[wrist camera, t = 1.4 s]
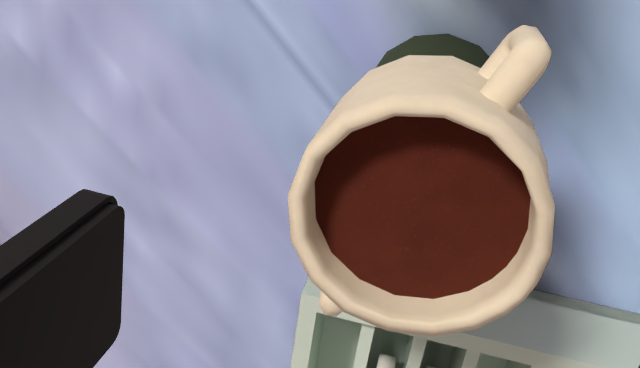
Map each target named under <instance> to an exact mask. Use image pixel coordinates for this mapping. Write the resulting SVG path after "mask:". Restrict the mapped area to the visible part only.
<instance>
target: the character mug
mask: <svg viewBox="0 0 640 368" xmlns="http://www.w3.org/2000/svg"><path fill="white" fill-rule="evenodd" d="M551 53H552V51H551V49H550V47H549V45H548V44H547V42H546V40H545V39H544V37H543V36H542V34H541V33H540V32H539V30H538V29H537V28H536V27H532V26H526V25H522V26H519V27H518V28H516V29H515V30H513V31H512V32H510V33H508V35H507V36H506V37H505V38H504V39H503V40H502V42H501V43H500V44H499V46H498V47H497V48H496V49H495V51H494V52H493V53H492V55H491V56H490V57H489V56H488V55H487V54H486V53H485V52H484V50H483V49H482V48H481V47H480V46H478V45H475V44H473V43H470V42H468V41H465V40H463V39H460V38H458V37H455V36H453V35H450V34H438V35H423V36H414V37H412V38H411V39H409V40H407V41H405V42H404V43H402V44H400V45H398V46H396V47H395V48H393V49H391V50H389V51H388V52H386V54H385V55H384V57H383V58H382V60H381V61H380V63H379V64H378V66H377V67H376V68H375V69H372V70H370V71H369V72H368V73H367V74H366V75H365V76H364V77H363V78H362V79H360V80H359V81H358V82H357V83H356V84H355V85H354V86H353V87H352V88H351V89H350V90H349V91H348V92H347V93H346V94H345V95H344V96H343V97H342V98H341V99H340V101H339V102H338V104H337V105H336V107H335V108H334V109H333V111H332V112H331V114H330V115H329V116H328V118H327V119H326V121H325V122H324V124H323V125H322V126H321V128H320V129H319V131H318V132H317V133H316V135H315V136H314V138H313V139H312V141H311V142H310V143H309V145H308V147H307V148H306V150H305V152H304V155H303V157H302V160H301V163H300V165H299V168H298V170H297V173H296V176H295V178H294V181H293V183H292V186H291V189H290V191H289V194H288V205H289V221H290V237H291V242H292V244H293V246H294V248H295V250H296V252H297V254H298V256H299V258H300V260H301V262H302V264H303V266H304V268H305V270H306V272H307V275H308V277H309V279H310V281H311V282H313V283H314V284H315V285H316V286H317V287H318V288H319V289H320V290H321V293H320V298H319V306H320V308H321V310H322V311H323V313H324V315H328V316H338V315H339V314H340V313H341V312H345V313H347V314H349V315H352V316H354V317H356V318H358V319H361V320H363V321H365V322H368V323H370V324H372V325H375V326H377V327H379V328H382V329H384V330H386V331H392V332H400V333H409V334H417V335H426V336H440V335H445V334H451V333H457V332H462V331H468V330H473V329H478V328H480V327H482V326H484V325H486V324H488V323H490V322H492V321H494V320H496V319H498V318H500V317H503V316H505V315H506V314H508V313H509V312H510V311H512V310H513V309H514V308H516V307H517V306H518V305H519V304H521V303H522V302H523V301H524V300H525V299H526V298H527V297H528V295H529V294H530V293H531V292H532V290H533V289H534V288H535V287H536V285H537V284H538V282H539V280H540V278H541V276H542V274H543V272H544V270H545V268H546V266H547V264H548V261H549V259H550V257H551V255H552V241H553V228H554V214H555V202H554V199H553V196H552V193H551V190H550V187H549V177H548V167H547V160H546V157H545V155H544V152H543V150H542V147H541V144H540V142H539V138H538V135H537V133H536V130H535V128H534V125H533V123H532V121H531V120H530V118H529V116H528V115H527V113H526V111H525V109H524V108H523V106H522V105H521V104H520V101H521V100H522V99H523V98H524V97H525V95H526V94H527V93H528V92H529V91H530V89H531V88H532V87H533V86H534V85H535V83H536V82H537V81H538V80H539V79H540V77H541V76H542V75H543V73H544V72H545V70H546V69H547V66H548V63H549V61H550V58H551Z"/></svg>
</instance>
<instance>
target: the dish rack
mask: <svg viewBox="0 0 640 368" xmlns="http://www.w3.org/2000/svg"><path fill="white" fill-rule="evenodd" d="M320 293H321V290H320V289H319V288H318V287H317V286H316V285H315V284H314V283H313V282H311V281H310V279H309V278H308V280H307V282H306V285H305V287H304V289H303V292H302V294H301V301H300V308H299V315H298V321H297V328H296V335H295V341H294V348H293V355H292V361H291V368H376V364H377V360H378V356H379V353H383V354H387V355H391V356H395V357H396V362H395V368H424V367H425V366H426V365H430V366H434V367H438V368H638V367H639V365H640V314H637V313H633V312H628V311H624V310H620V309H615V308H611V307H607V306H602V305H598V304H594V303H589V302H585V301H581V300H576V299H572V298H568V297H563V296H559V295H555V294H550V293H546V292H542V291H537V290H532V292H531V293H530V294H529V295H528V297H527V298H526V299H525V300H524V301H523V302H522V303H521V304H519V305H518V306H517V307H516V308H514V309H513V310H512V311H510V312H509V313H508V314H506V315H505V316H503V317H500V318H498V319H496V320H494V321H492V322H490V323H488V324H486V325H484V326H482V327H480V328H478V329H473V330H468V331H462V332H457V333H451V334H445V335H440V336H426V335H417V334H409V333H400V332H392V331H386V330H384V329H382V328H379V327H377V326H375V325H372V324H370V323H368V322H365V321H363V320H361V319H358V318H356V317H354V316H352V315H349V314H347V313H345V312H341V313H340V314H339V315H338V316H328V315H324V313H323V311H322V310H321V308H320V306H319V298H320Z"/></svg>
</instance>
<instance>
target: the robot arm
mask: <svg viewBox="0 0 640 368" xmlns="http://www.w3.org/2000/svg"><path fill="white" fill-rule="evenodd" d="M124 219H125V214H124V209H123V208H122V207H121V206H118V205H117V201H116V199H115V198H114V197H113V196H110V195H106V194H102V193H98V192H94V191H90V190H86V189H83V190H81V191H79V192H77V193H76V194H74V195H73V196H71V197H70V198H69V199H67V200H66V201H64V202H63V203H61V204H60V205H58V206H57V207H56V208H54V209H53V210H51V211H50V212H48V213H47V214H45V215H44V216H43V217H41V218H40V219H38V220H37V221H35V222H34V223H32V224H31V225H30V226H28V227H27V228H25V229H24V230H22V231H21V232H19V233H18V234H17V235H15V236H14V237H12V238H11V239H9V240H8V241H6V242H5V243H4V244H2V245H1V246H0V368H93V367H94V366H95V365H96V363H97V362H98V361H99V360H100V359H101V357H102V356H103V355H104V354H105V353H106V351H107V350H108V349H109V348H110V347H111V345H112V344H113V343H114V341H115V339H116V338H117V335H118V333H119V329H120V324H121V301H122V273H123V246H124ZM638 368H640V365H639V367H638Z"/></svg>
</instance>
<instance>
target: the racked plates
mask: <svg viewBox="0 0 640 368" xmlns="http://www.w3.org/2000/svg"><path fill="white" fill-rule="evenodd" d="M395 362H396V357H395V356H391V355H387V354H383V353H379V356H378V360H377V364H376V368H395ZM424 368H438V367H434V366H430V365H426V366H425V367H424Z"/></svg>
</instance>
